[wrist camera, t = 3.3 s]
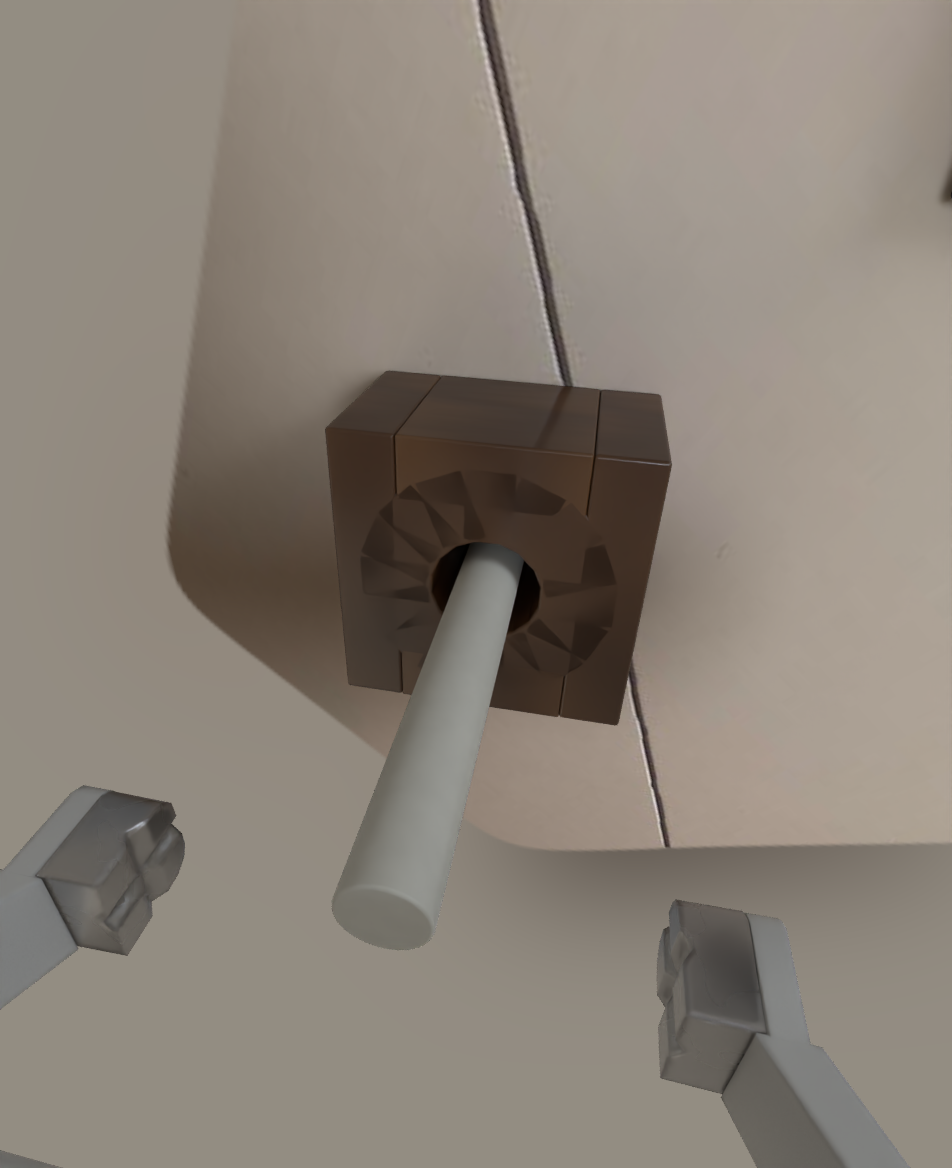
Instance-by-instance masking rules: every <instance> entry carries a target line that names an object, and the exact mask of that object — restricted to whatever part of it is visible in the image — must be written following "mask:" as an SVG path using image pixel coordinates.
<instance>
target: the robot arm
mask: <svg viewBox="0 0 952 1168" xmlns="http://www.w3.org/2000/svg"><path fill="white" fill-rule="evenodd" d="M175 817H176V814H175V811H174V809H173V806H172V804H171V803H169V802H164V801H159V800H154V799H149V798H144V797H139V796H133V795H129V794H124V793H119V792H115V791H111V790H106V789H101V788H95V787H90V786H84V785H83V786H81V787H80V788H78V789H76V790H75V791H73V792H72V793H71V794H70V795H69V796H68V797H67V798H66V799H65V800H64V802H63V803H62V804H61V805H60V806H59V807H58V809H57V810H56V811H55V812H54V813H53V814H52V815H51V816H50V818H49V819H48V820H47V821H46V822H45V823H44V824H43V825H42V827H41V828H40V829H39V830H38V831H37V832H36V833H35V834H34V836H33V837H32V838H31V839H30V840H29V841H28V842H27V844H26V845H25V846H24V847H23V848H22V849H21V850H20V852H19V853H18V854H17V855H16V856H15V857H14V858H13V859H12V861H11V862H10V863H9V864H8V865H7V866H6V867H5V868H4V870H1V869H0V1009H1V1008H3V1007H4V1006H5V1005H7V1004H8V1003H9V1002H11V1001H12V1000H13V999H14V998H16V997H17V996H18V995H20V994H21V993H22V992H24V991H25V990H26V989H28V988H29V987H30V986H31V985H33V984H34V983H35V982H37V981H38V980H39V979H41V978H42V977H43V976H44V975H46V974H47V973H48V972H50V971H51V970H52V969H54V968H55V967H56V966H57V965H59V964H60V963H61V962H63V961H64V960H65V959H67V958H68V957H69V956H71V955H72V954H73V953H74V952H76V951H77V950H78V947H77V946H80V947H86V948H91V949H96V950H101V951H106V952H111V953H116V954H121V955H126V956H127V955H128V954H129V952H130V951H131V949H132V948H133V946H134V944H135V943H136V941H137V940H138V938H139V937H140V935H141V933H142V932H143V930H144V929H145V927H146V925H147V924H148V922H149V921H150V919H151V918H152V901H153V900H155V899H156V898H158V897H159V896H161V895H162V894H164V893H165V892H167V891H168V890H169V889H170V887H171V885H172V884H173V882H174V880H175V879H176V877H177V875H178V873H179V870H180V867H181V864H182V861H183V858H184V849H185V843H184V839H183V836H182V833H181V832H180V831H179V830H178V829H177V828H176V827H174V826H173V825H172V824H171V823H172V822H173V820H174V819H175ZM669 919H670V920H669V922H670V926H669V927H667V928H665V929H664V930H663V933H662V936H661V940H660V944H659V952H658V958H657V995H658V997H659V998H660V1000H661V1002H662V1003H663V1005H664V1006H665V1010H664V1013H663V1015H662V1018H661V1021H660V1024H659V1027H658V1032H659V1058H660V1078H662V1079H666V1080H669V1081H674V1082H677V1083H681V1084H685V1085H689V1086H693V1087H697V1088H701V1089H704V1090H708V1091H712V1092H716V1093H720V1094H723V1095H722V1097H721V1098H722V1100H723V1102H724V1104H725V1106H726V1108H727V1110H728V1112H729V1114H730V1116H731V1118H732V1120H733V1122H734V1124H735V1125H736V1127H737V1129H738V1131H739V1133H740V1135H741V1137H742V1139H743V1141H744V1143H745V1145H746V1147H747V1149H748V1151H749V1153H750V1155H751V1157H752V1159H753V1160H754V1162H755V1164H756V1166H757V1168H910V1167H909V1166H908V1164H907V1163H906V1161H905V1160H904V1159H903V1157H902V1156H901V1155H900V1153H899V1152H898V1150H897V1149H896V1148H895V1146H894V1145H893V1144H892V1142H891V1141H890V1140H889V1138H888V1137H887V1135H886V1134H885V1133H884V1131H883V1130H882V1129H881V1127H880V1126H879V1124H878V1123H877V1122H876V1120H875V1119H874V1118H873V1116H872V1115H871V1114H870V1112H869V1111H868V1109H867V1108H866V1107H865V1105H864V1104H863V1103H862V1101H861V1100H860V1099H859V1097H858V1096H857V1094H856V1093H855V1092H854V1090H853V1089H852V1088H851V1086H850V1085H849V1083H848V1082H847V1081H846V1079H845V1078H844V1077H843V1075H842V1074H841V1073H840V1071H839V1070H838V1068H837V1067H836V1066H835V1064H834V1063H833V1062H832V1060H831V1059H830V1058H829V1056H828V1055H827V1053H826V1052H825V1051H824V1049H823V1048H822V1047H819V1046H815V1045H811V1044H810V1039H809V1034H808V1029H807V1024H806V1020H805V1015H804V1010H803V1005H802V1001H801V996H800V991H799V986H798V981H797V976H796V972H795V967H794V962H793V958H792V952H791V948H790V943H789V938H788V933H787V929H786V927H785V926H784V924H783V922H782V921H781V920H780V919H778V918H773V917H767V916H761V915H756V914H749V913H744V912H743V911H739V910H732V909H727V908H722V907H716V906H710V905H704V904H699V903H693V902H687V901H682V900H675V901H674V902H673V903H672V905H671V908H670V911H669ZM0 1168H61V1167H58V1166H54V1165H51V1164H47V1163H44V1162H40V1161H37V1160H33V1159H29V1158H26V1157H22V1156H19V1155H15V1154H12V1153H8V1152H5V1151H1V1150H0Z"/></svg>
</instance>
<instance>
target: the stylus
mask: <svg viewBox="0 0 952 1168" xmlns="http://www.w3.org/2000/svg"><path fill="white" fill-rule="evenodd" d="M523 563H524V560H523V558H522V557H521V556H520V555H519V554H517V553H515V552H513V551H511V550H509V549H507V548H505V547H503V546H501V545H498V544H489V543H481V542H473V543H470V545H469V548H468V551H467V553H466V556H465V558H464V561H463V564H462V566H461V569H460V571H459V574H458V576H457V579H456V582H455V584H454V587H453V589H452V592H451V594H450V597H449V600H448V602H447V605H446V607H445V610H444V613H443V615H442V618H441V620H440V623H439V625H438V628H437V631H436V633H435V636H434V638H433V641H432V643H431V646H430V649H429V651H428V654H427V656H426V659H425V662H424V664H423V667H422V669H421V672H420V674H419V677H418V680H417V682H416V685H415V687H414V690H413V692H412V695H411V698H410V700H409V703H408V705H407V708H406V711H405V713H404V716H403V718H402V721H401V723H400V726H399V729H398V731H397V734H396V736H395V739H394V741H393V744H392V747H391V749H390V752H389V754H388V757H387V760H386V762H385V765H384V767H383V770H382V772H381V775H380V778H379V780H378V783H377V786H376V788H375V790H374V793H373V796H372V798H371V801H370V803H369V806H368V808H367V811H366V814H365V816H364V819H363V821H362V824H361V827H360V829H359V832H358V834H357V837H356V840H355V842H354V845H353V847H352V850H351V852H350V855H349V858H348V860H347V863H346V865H345V868H344V870H343V873H342V876H341V878H340V881H339V883H338V886H337V888H336V891H335V894H334V896H333V899H332V912H333V915H334V917H335V919H336V920H337V922H338V923H339V924H340V925H341V926H342V927H343V928H344V929H345V930H346V931H347V932H349V933H350V934H351V935H353V936H354V937H356V938H358V939H360V940H362V941H364V942H366V943H369V944H372V945H374V946H377V947H382V948H386V949H394V950H409V949H415V948H418V947H421V946H423V945H425V944H426V943H427V942H429V941H430V939H431V938H432V937H433V935H434V933H435V930H436V926H437V921H438V917H439V913H440V909H441V905H442V901H443V897H444V892H445V888H446V884H447V880H448V875H449V872H450V868H451V863H452V859H453V854H454V851H455V846H456V843H457V838H458V834H459V830H460V826H461V822H462V818H463V813H464V809H465V805H466V801H467V797H468V793H469V788H470V784H471V780H472V776H473V772H474V768H475V763H476V759H477V755H478V751H479V747H480V743H481V738H482V734H483V730H484V726H485V722H486V718H487V713H488V709H489V705H490V701H491V697H492V693H493V688H494V684H495V680H496V676H497V672H498V668H499V663H500V659H501V655H502V651H503V647H504V642H505V638H506V634H507V630H508V626H509V622H510V617H511V613H512V609H513V605H514V601H515V597H516V592H517V588H518V584H519V580H520V576H521V572H522V567H523Z"/></svg>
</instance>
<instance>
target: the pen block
mask: <svg viewBox="0 0 952 1168" xmlns="http://www.w3.org/2000/svg"><path fill="white" fill-rule="evenodd" d="M325 433H326V444H327V455H328V466H329V477H330V488H331V499H332V510H333V521H334V532H335V543H336V554H337V565H338V576H339V587H340V598H341V609H342V620H343V631H344V642H345V653H346V664H347V675H348V683H349V684H350V685H354V686H360V687H367V688H374V689H380V690H387V691H393V692H402V691H403V693H404V694H410V695H412V692H413V690H414V687H415V685H416V682H417V680H418V677H419V674H420V672H421V669H422V667H423V664H424V662H425V659H426V656H427V654H428V651H429V649H430V646H431V643H432V641H433V638H434V636H435V633H436V631H437V628H438V625H439V623H440V620H441V618H442V615H443V613H444V610H445V607H446V605H447V602H448V600H449V597H450V594H451V592H452V589H453V587H454V584H455V582H456V579H457V576H458V574H459V571H460V569H461V566H462V564H463V561H464V558H465V556H466V553H467V551H468V548H469V545H470V543H473V542H481V543H489V544H498V545H501V546H503V547H505V548H507V549H509V550H511V551H513V552H515V553H517V554H519V555H520V556H521V557H522V558H523V560H524V563H523V567H522V572H521V576H520V580H519V584H518V588H517V592H516V597H515V601H514V605H513V609H512V613H511V617H510V622H509V626H508V630H507V634H506V638H505V642H504V647H503V651H502V655H501V659H500V663H499V668H498V672H497V676H496V680H495V684H494V688H493V693H492V697H491V701H490V705H489V707H495V708H501V709H508V710H514V711H521V712H527V713H534V714H540V715H547V716H554V717H558V716H559V715H560V717H564V718H570V719H577V720H583V721H590V722H596V723H603V724H610V725H617V724H618V723H619V719H620V714H621V709H622V704H623V699H624V694H625V690H626V685H627V680H628V675H629V670H630V665H631V661H632V656H633V651H634V646H635V641H636V636H637V632H638V627H639V622H640V617H641V612H642V607H643V603H644V598H645V593H646V588H647V583H648V578H649V574H650V569H651V564H652V559H653V554H654V549H655V545H656V540H657V535H658V530H659V525H660V520H661V516H662V511H663V506H664V501H665V496H666V492H667V487H668V482H669V477H670V472H671V467H672V462H671V455H670V449H669V443H668V437H667V430H666V424H665V418H664V411H663V405H662V399H661V396H660V395H654V394H643V393H631V392H620V391H608V390H603V391H601V393H600V390H598V389H588V388H576V387H565V386H554V385H542V384H531V383H519V382H508V381H497V380H485V379H474V378H462V377H451V376H442V377H440V376H438V375H427V374H415V373H404V372H393V371H386V372H385V373H384V374H383V375H382V376H381V377H380V378H378V379H377V380H376V381H375V382H374V383H373V384H372V385H371V386H370V387H369V388H368V389H367V390H366V391H365V392H363V393H362V394H361V395H360V396H359V397H358V398H357V399H356V400H355V401H354V402H353V403H352V404H351V405H349V406H348V407H347V408H346V409H345V410H344V411H343V412H342V413H341V414H340V415H339V416H338V417H337V418H336V419H334V420H333V421H332V422H331V423H330V424H329V425H328V426H327V427H326V429H325Z"/></svg>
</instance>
